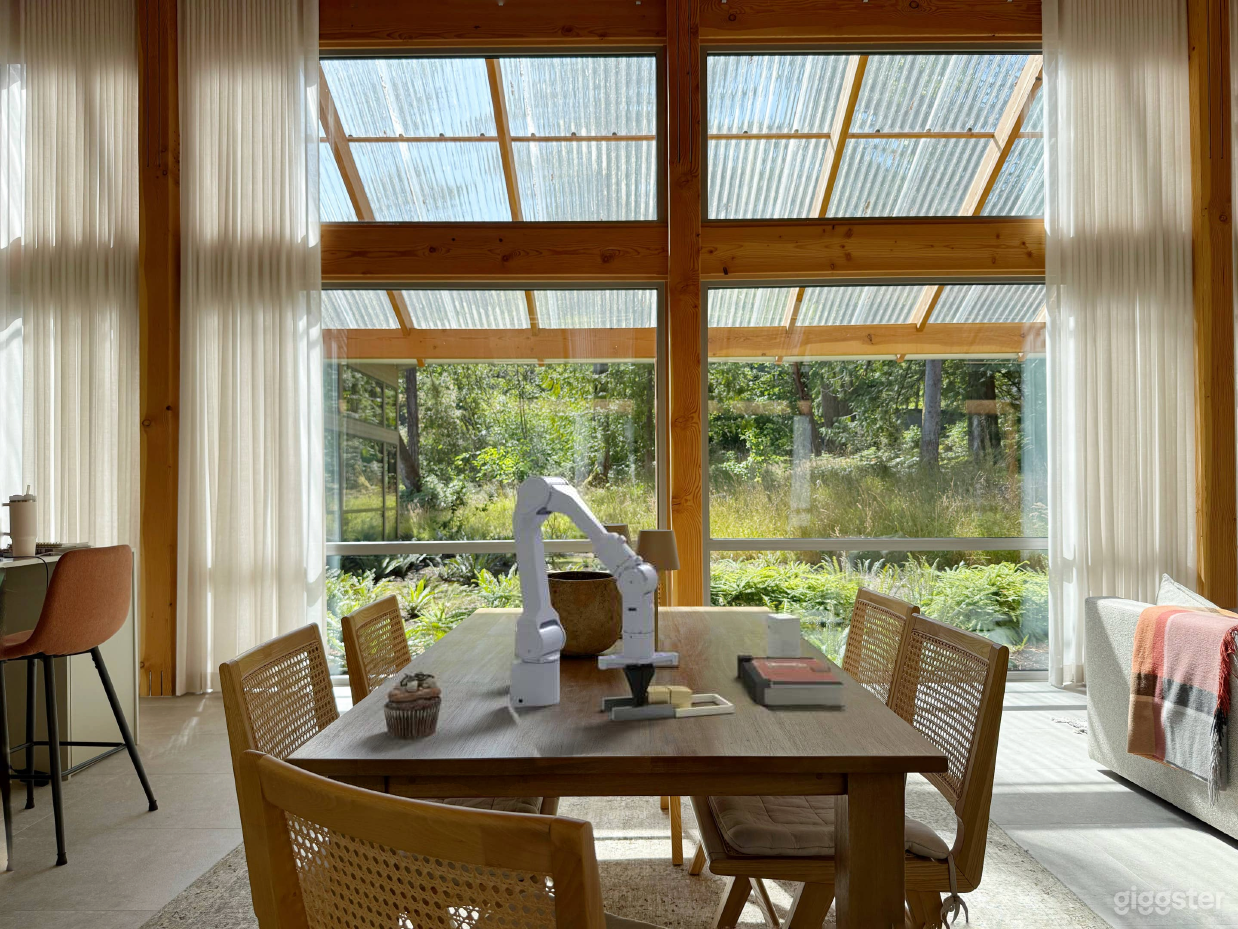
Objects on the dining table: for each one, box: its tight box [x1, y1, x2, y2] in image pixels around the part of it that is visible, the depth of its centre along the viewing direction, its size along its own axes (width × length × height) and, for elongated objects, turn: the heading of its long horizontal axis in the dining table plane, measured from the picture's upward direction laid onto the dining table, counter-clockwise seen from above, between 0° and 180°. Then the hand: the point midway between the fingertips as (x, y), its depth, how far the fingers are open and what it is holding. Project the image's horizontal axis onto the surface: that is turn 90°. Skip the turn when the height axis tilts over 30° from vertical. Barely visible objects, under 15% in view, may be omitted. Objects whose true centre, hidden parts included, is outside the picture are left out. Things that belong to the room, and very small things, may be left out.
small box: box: [765, 613, 802, 657], centre depth 200 cm, size 8×6×10 cm
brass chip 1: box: [644, 685, 670, 705], centre depth 148 cm, size 4×4×4 cm
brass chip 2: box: [664, 685, 693, 714], centre depth 150 cm, size 4×4×4 cm
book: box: [736, 654, 845, 708], centre depth 168 cm, size 26×18×5 cm
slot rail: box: [601, 695, 675, 722], centre depth 148 cm, size 11×8×3 cm
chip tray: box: [674, 693, 735, 718], centre depth 150 cm, size 11×9×2 cm
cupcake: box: [382, 671, 442, 740], centre depth 139 cm, size 10×10×10 cm
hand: (638, 706), depth 148 cm, fingers closed
